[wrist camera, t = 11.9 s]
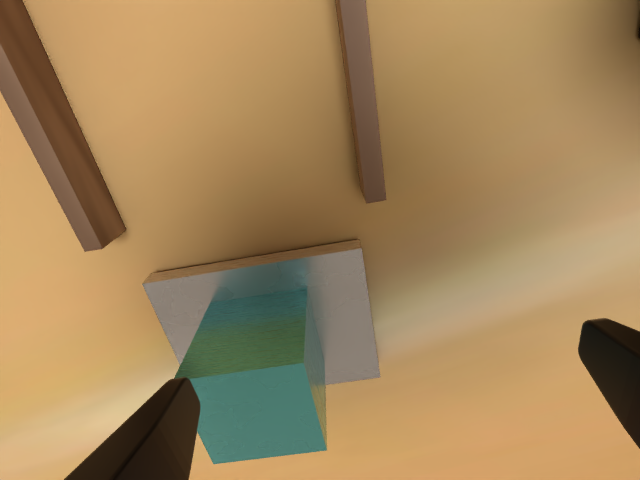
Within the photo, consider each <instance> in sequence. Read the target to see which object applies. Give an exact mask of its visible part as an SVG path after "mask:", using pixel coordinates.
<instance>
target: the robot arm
mask: <svg viewBox="0 0 640 480" xmlns="http://www.w3.org/2000/svg"><path fill="white" fill-rule="evenodd" d="M639 38H640V28H639ZM578 352H579V356H580V359H581V361H582V362H583V364H584V365H585V367H586V369H587V370H588V372H589V373H590V375H591V377H592V378H593V380H594V381H595V383H596V385H597V386H598V388H599V389H600V391H601V393H602V394H603V396H604V397H605V399H606V401H607V402H608V404H609V405H610V407H611V409H612V410H613V412H614V413H615V415H616V416H617V418H618V419H619V421H620V422H621V424H622V425H623V427H624V428H625V430H626V431H627V432H628V434H629V435H630V437H631V438H632V439H633V441H634V442H635V443H636V445H637V446H638V447H639V449H640V331H637V330H635V329H632V328H630V327H627V326H625V325H622V324H620V323H617V322H615V321H612V320H610V319H606V318H600V319H593V320H587V321H585V322H584V323H583V325H582V330H581V335H580V341H579V347H578ZM199 416H200V401H199V398H198V396H197V394H196V392H195V389H194V387H193V385H192V383H191V381H190V379H188V378H187V377H182V378H175V379H171V380H169V381H168V382H166V383H165V384H164V385H163V386H162V387H161V388H160V389H159V390H158V391H157V392H156V393H155V394H154V395H153V396H152V397H151V398H149V399H148V400H147V401H146V402H145V403H144V404H143V405H142V406H141V407H140V408H139V409H138V410H137V411H136V412H135V413H134V414H133V415H132V416H130V417H129V418H128V419H127V420H126V421H125V422H124V423H123V424H122V425H121V426H120V427H119V428H118V429H117V430H116V431H115V432H114V433H113V434H111V435H110V436H109V437H108V438H107V439H106V440H105V441H104V442H103V443H102V444H101V445H100V446H99V447H98V448H97V449H96V450H95V451H94V452H92V453H91V454H90V455H89V456H88V457H87V458H86V459H85V460H84V461H83V462H82V463H81V464H80V465H79V466H78V467H77V468H76V469H74V470H73V471H72V472H71V473H70V474H69V475H68V476H67V477H66V478H65V479H64V480H189V475H190V470H191V464H192V458H193V452H194V446H195V440H196V434H197V428H198V422H199Z"/></svg>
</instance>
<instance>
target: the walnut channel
mask: <svg viewBox="0 0 640 480" xmlns="http://www.w3.org/2000/svg"><path fill="white" fill-rule="evenodd" d="M335 1H336V9H337V16H338V23H339V31H340V38H341V46H342V53H343V60H344V68H345V75H346V83H347V90H348V98H349V105H350V112H351V120H352V127H353V135H354V142H355V149H356V157H357V164H358V172H359V179H360V187H361V191H362V193H363V196H364V199H365V201H366V203H372V202H378V201H384V200H386V192H385V182H384V173H383V163H382V153H381V144H380V134H379V124H378V115H377V105H376V96H375V86H374V76H373V67H372V57H371V48H370V38H369V28H368V19H367V9H366V0H335ZM0 91H1V93H2V95H3V97H4V99H5V101H6V103H7V105H8V106H9V108H10V110H11V112H12V114H13V116H14V118H15V120H16V122H17V124H18V125H19V127H20V129H21V131H22V133H23V135H24V137H25V139H26V141H27V143H28V145H29V146H30V148H31V150H32V152H33V154H34V156H35V158H36V160H37V162H38V164H39V165H40V167H41V169H42V171H43V173H44V175H45V177H46V179H47V181H48V183H49V184H50V186H51V188H52V190H53V192H54V194H55V196H56V198H57V200H58V202H59V203H60V205H61V207H62V209H63V211H64V213H65V215H66V217H67V219H68V221H69V222H70V224H71V226H72V228H73V230H74V232H75V234H76V236H77V238H78V240H79V242H80V243H81V245H82V247H83V249H84V251H85V252H86V251H92V250H98V249H103V248H104V247H105V246H107V245H108V244H109V243H110V242H112V241H113V240H114V239H115V238H117V237H118V236H119V235H120V234H121V233H123V232H124V231H125V230H126V228H125V226H124V224H123V222H122V220H121V217H120V215H119V213H118V211H117V209H116V206H115V204H114V202H113V200H112V198H111V195H110V193H109V191H108V189H107V187H106V184H105V182H104V180H103V178H102V176H101V173H100V171H99V169H98V167H97V165H96V162H95V160H94V158H93V156H92V154H91V151H90V149H89V147H88V145H87V143H86V140H85V138H84V136H83V134H82V132H81V129H80V127H79V125H78V123H77V121H76V118H75V116H74V114H73V112H72V110H71V107H70V105H69V103H68V101H67V99H66V96H65V94H64V92H63V90H62V88H61V86H60V83H59V81H58V79H57V77H56V75H55V72H54V70H53V68H52V66H51V64H50V61H49V59H48V57H47V55H46V53H45V50H44V48H43V46H42V44H41V42H40V39H39V37H38V35H37V33H36V31H35V28H34V26H33V24H32V22H31V20H30V17H29V15H28V13H27V11H26V9H25V6H24V4H23V2H22V0H0Z"/></svg>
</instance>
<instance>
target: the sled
mask: <svg viewBox="0 0 640 480" xmlns="http://www.w3.org/2000/svg"><path fill="white" fill-rule="evenodd" d="M142 285H143V287H144V289H145V291H146V293H147V295H148V297H149V300H150V302H151V304H152V306H153V308H154V310H155V312H156V315H157V317H158V319H159V321H160V323H161V325H162V327H163V329H164V332H165V334H166V336H167V338H168V340H169V342H170V344H171V347H172V349H173V351H174V353H175V355H176V357H177V359H178V362H179V364H180V367H179V369H178V371H177V373H176V376H175V378H182V377H187V378H188V379H190V381H191V383H192V385H193V387H194V389H195V392H196V394H197V396H198V398H199V401H200V416H199V422H198V428H197V432H198V434H199V436H200V438H201V440H202V442H203V444H204V446H205V448H206V450H207V452H208V454H209V456H210V458H211V460H212V462H213V464H219V463H227V462H235V461H243V460H251V459H259V458H268V457H276V456H284V455H292V454H300V453H309V452H317V451H325V450H327V435H326V393H325V385H328V384H335V383H342V382H350V381H357V380H365V379H372V378H379V377H380V371H379V364H378V358H377V351H376V344H375V337H374V330H373V323H372V316H371V309H370V302H369V295H368V288H367V282H366V275H365V268H364V261H363V254H362V248H361V244H360V240H359V239H358V240H352V241H346V242H340V243H334V244H328V245H322V246H315V247H309V248H303V249H297V250H291V251H285V252H279V253H273V254H267V255H261V256H255V257H248V258H242V259H236V260H230V261H224V262H218V263H212V264H206V265H200V266H194V267H188V268H182V269H175V270H169V271H163V272H157V273H151V274H150V275H149V277H148V278H147V279H146V280H145V281H144V282H143V284H142ZM175 378H174V379H175Z"/></svg>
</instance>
